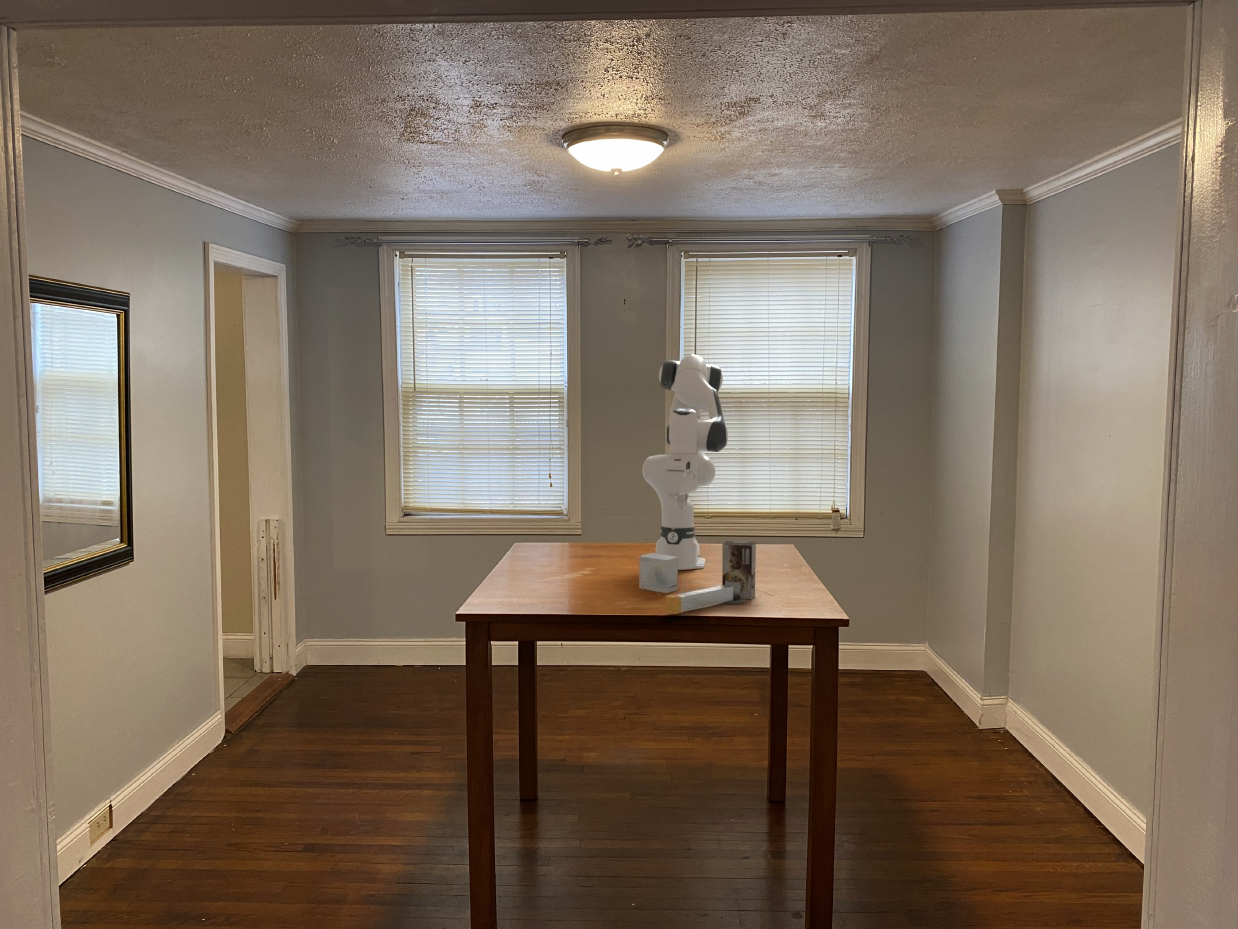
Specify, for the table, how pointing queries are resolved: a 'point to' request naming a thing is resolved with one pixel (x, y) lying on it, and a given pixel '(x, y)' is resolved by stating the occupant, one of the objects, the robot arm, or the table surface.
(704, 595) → the grey long bar
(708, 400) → the robot arm
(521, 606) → the table surface
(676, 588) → the skincare box
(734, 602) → the hinge base
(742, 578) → the coffee box
